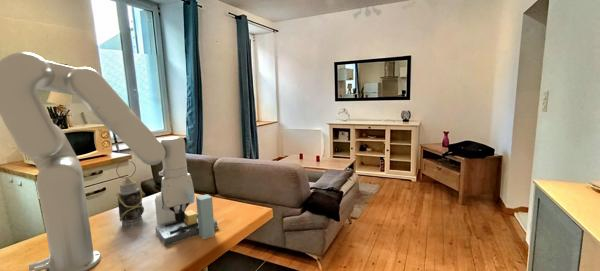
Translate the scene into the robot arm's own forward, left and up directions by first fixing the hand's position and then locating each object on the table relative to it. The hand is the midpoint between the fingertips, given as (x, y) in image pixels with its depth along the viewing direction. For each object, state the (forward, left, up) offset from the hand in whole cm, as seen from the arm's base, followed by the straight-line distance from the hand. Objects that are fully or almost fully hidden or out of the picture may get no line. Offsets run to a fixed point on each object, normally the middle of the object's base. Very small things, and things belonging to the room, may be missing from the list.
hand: (180, 221), depth 99 cm
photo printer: (0, +12, -4) cm, 13 cm away
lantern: (-12, +21, -4) cm, 24 cm away
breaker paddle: (+3, 0, -1) cm, 4 cm away
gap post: (+6, -8, -4) cm, 11 cm away
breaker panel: (+2, 0, -4) cm, 4 cm away
